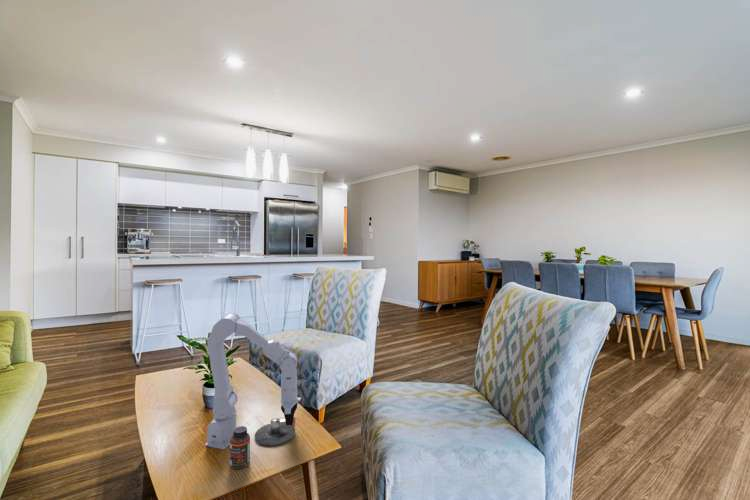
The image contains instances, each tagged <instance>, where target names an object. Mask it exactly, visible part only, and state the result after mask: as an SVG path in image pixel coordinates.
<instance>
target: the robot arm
mask: <svg viewBox="0 0 750 500" xmlns="http://www.w3.org/2000/svg"><path fill="white" fill-rule="evenodd" d="M232 335H233V337H238V336H239V337H245V338H246V339H248V340H249V341H251V342H253V343H254V344H256V345H257V346H259V347H260V348H261V349H262V354H263V355H265V357H267V358H269V359H270V360H271V361H272V362H274V363H275V364H276V365H279V369H280V371H281V374H280V404H281V406H280V409H281V410H280V411H281V412H282V413H283V417H284V419H285V421H286V425H292V424H293V419H294V415H295V413H296V411H297V408H298V402H301V400H302V397H300V396H299V397H298V373H297V372H298V369H297V368H298V357H297V354H295V352H294V351H291V350H289V349H286V348H285V347H283V345H282V344H281V342H280V341H279V340H274V339H271V340H269V339H267V338H266V337H265V336H264V335H263V334H262V333H260V332H259V331H258V330H257V329H256V328H255V327H254V326H252V325H251V324H250V323H249V322H248V321H247V320H245V318H242V317H241V316H239V314H237V313H235V312H229V313H226V314H225V315H224V316H223V317H222V318H221V319H219V320H218V321H217V322H216V323H215V324H214V325H213V326H212V329H211V332H210V334H209V336H208V338H207V340H206V344H207V350H208V356H209V363H210V367H211V368H210V369H211V375H212V380H213V387H214V395H213V407H212V412H211V413H212V415H213V418H212V421H211V422H209V423H208V425H207V427H206V428H207V429H206V442H205V444H204V445H205V447H206V446H207V447H210V448H214V449H220V450H226V449H227V448H228V447H230V439H231V437H232V436H233V431H234V429H235V428H237V410H236V408H235V405H236V404H237V402H238V395H237V393H235V391H234V387H233V385H231V380H230V375H229V367H228V362H227V356H226V350H225V349H226V348H225V345H224V344H225V343H224V342H225V340H226V339H227V338H228V337H230V336H232Z"/></svg>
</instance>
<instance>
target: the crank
mask: <svg viewBox="0 0 750 500" xmlns="http://www.w3.org/2000/svg"><path fill="white" fill-rule="evenodd" d="M270 424H271V433H272V434H277V433H279V432H280V429H281V428H288V427H294V428H295V427H296V415H295V414H294V419H293V424H292V425H286V421H285V418H284V419H281V418H279V417H274V418H271V420H270Z"/></svg>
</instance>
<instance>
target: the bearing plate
mask: <svg viewBox="0 0 750 500" xmlns="http://www.w3.org/2000/svg"><path fill="white" fill-rule="evenodd" d="M295 435H296V429H295V427H288V428H281V429H280V432H279V433H277V434H272V433H271V423H268V424H265V425H262V426H261V427H260V428H258V429H257V430H256V431H255V433H254V440H255V443H257V444H258V445H260V446H263V447H276V446H277V447H278V446H281V445H284V444H287V443H288V442H290V441H291V440H293V438H294V437H295Z"/></svg>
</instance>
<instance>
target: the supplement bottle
mask: <svg viewBox="0 0 750 500" xmlns="http://www.w3.org/2000/svg"><path fill="white" fill-rule="evenodd" d="M250 461H251V435H250V433H248V427H247V426H244V425H239V426H236V428H235V429H234V431H233V436H232V437H231V439H230V445H229V466H230V468H231V469H233V470H241V469H245V468H246V467H247V466H249V464H250V463H251V462H250Z"/></svg>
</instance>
